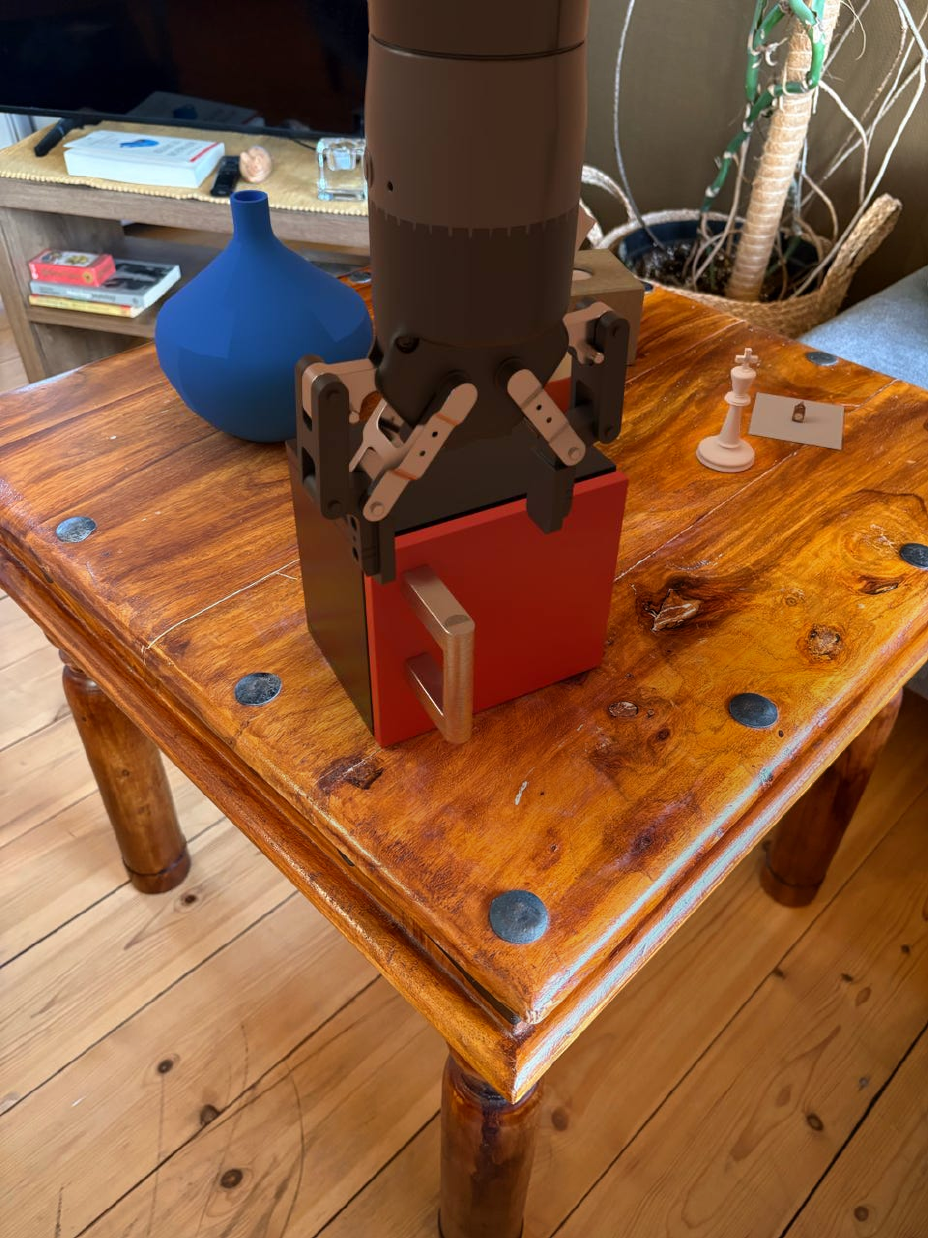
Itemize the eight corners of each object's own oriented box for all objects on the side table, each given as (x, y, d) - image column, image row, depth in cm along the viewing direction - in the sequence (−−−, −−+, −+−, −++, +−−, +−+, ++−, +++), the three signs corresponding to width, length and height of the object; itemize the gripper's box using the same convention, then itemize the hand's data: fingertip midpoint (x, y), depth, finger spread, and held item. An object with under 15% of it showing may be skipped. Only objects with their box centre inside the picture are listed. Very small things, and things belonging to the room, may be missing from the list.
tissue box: (453, 386, 94) (455, 217, 83) (429, 341, 101) (427, 179, 90) (638, 365, 98) (661, 200, 87) (602, 322, 105) (620, 165, 94)
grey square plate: (748, 433, 88) (752, 415, 87) (756, 392, 94) (761, 374, 93) (841, 449, 86) (846, 431, 85) (844, 406, 92) (849, 388, 91)
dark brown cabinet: (591, 655, 67) (617, 465, 57) (372, 737, 61) (359, 541, 51) (509, 564, 74) (520, 381, 64) (307, 629, 68) (284, 440, 58)
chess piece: (759, 473, 83) (787, 364, 77) (700, 472, 83) (723, 363, 77) (747, 442, 87) (772, 335, 81) (691, 441, 87) (712, 334, 81)
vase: (402, 448, 86) (396, 224, 73) (188, 486, 81) (141, 253, 68) (347, 354, 98) (333, 150, 86) (159, 382, 94) (115, 170, 81)
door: (653, 723, 62) (693, 533, 52) (423, 818, 56) (419, 625, 46) (593, 655, 66) (619, 469, 57) (374, 738, 61) (361, 546, 51)
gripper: (324, 251, 30) (353, 645, 40) (702, 185, 35) (638, 550, 46) (244, 175, 35) (288, 545, 45) (585, 127, 40) (553, 470, 51)
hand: (464, 547), depth 45 cm, fingers open, 8 cm apart
